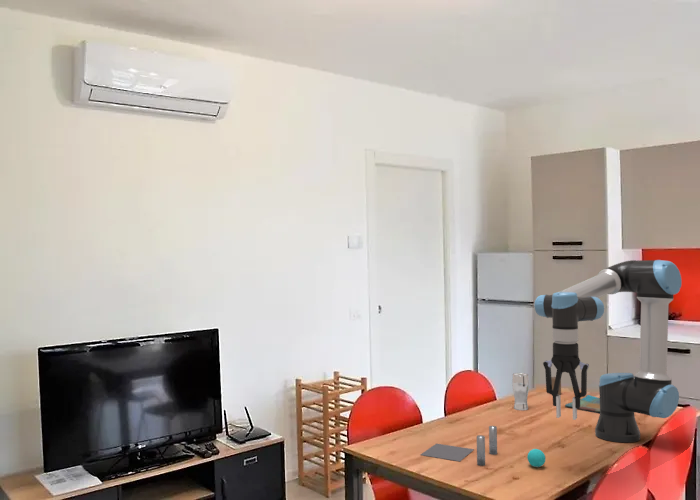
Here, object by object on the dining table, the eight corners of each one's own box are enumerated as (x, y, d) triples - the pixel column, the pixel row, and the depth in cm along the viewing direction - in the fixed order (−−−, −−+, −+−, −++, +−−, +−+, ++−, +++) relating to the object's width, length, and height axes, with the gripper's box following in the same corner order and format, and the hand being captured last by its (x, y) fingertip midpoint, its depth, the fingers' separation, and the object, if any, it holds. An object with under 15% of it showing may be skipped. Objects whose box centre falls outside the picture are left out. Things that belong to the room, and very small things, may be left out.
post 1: (486, 463, 198) (485, 435, 198) (483, 466, 196) (483, 438, 196) (478, 462, 199) (478, 434, 199) (475, 465, 197) (475, 436, 197)
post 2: (498, 452, 209) (497, 426, 209) (495, 455, 206) (495, 428, 206) (490, 451, 210) (490, 425, 210) (488, 453, 208) (487, 427, 208)
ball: (547, 465, 196) (547, 448, 196) (543, 470, 191) (543, 453, 191) (530, 462, 198) (529, 445, 198) (525, 467, 194) (525, 450, 194)
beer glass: (520, 411, 263) (520, 376, 263) (509, 408, 269) (508, 373, 270) (532, 409, 266) (532, 374, 267) (521, 406, 273) (520, 372, 273)
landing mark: (474, 449, 212) (474, 449, 212) (459, 461, 200) (459, 461, 200) (436, 444, 219) (436, 443, 219) (420, 455, 207) (420, 454, 207)
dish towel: (624, 405, 274) (624, 399, 274) (602, 415, 257) (602, 409, 257) (587, 399, 286) (586, 394, 286) (563, 408, 269) (563, 403, 269)
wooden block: (555, 393, 297) (554, 376, 297) (561, 394, 294) (561, 377, 294) (549, 394, 295) (548, 377, 295) (555, 395, 292) (555, 378, 292)
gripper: (596, 342, 189) (598, 418, 189) (540, 339, 198) (541, 411, 198) (592, 345, 183) (594, 424, 182) (534, 342, 191) (535, 417, 191)
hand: (566, 417), depth 190 cm, fingers open, 4 cm apart
